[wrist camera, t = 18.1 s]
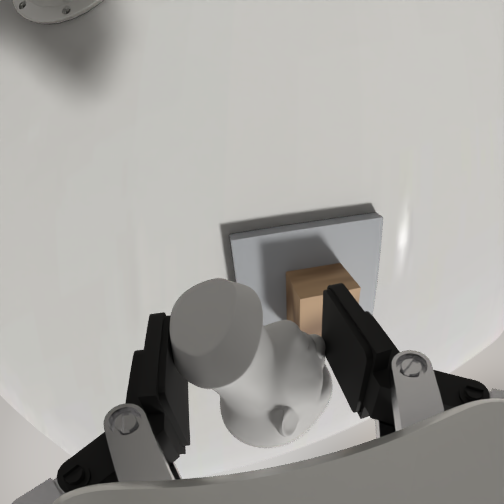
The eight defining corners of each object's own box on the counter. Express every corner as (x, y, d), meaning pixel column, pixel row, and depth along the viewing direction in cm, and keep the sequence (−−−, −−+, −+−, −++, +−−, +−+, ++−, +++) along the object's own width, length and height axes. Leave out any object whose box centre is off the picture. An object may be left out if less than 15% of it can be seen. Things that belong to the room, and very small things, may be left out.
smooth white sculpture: (311, 363, 16) (228, 418, 14) (259, 229, 12) (137, 301, 11) (366, 413, 12) (269, 482, 11) (334, 268, 8) (164, 379, 7)
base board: (229, 234, 31) (230, 240, 30) (376, 212, 33) (383, 217, 32) (246, 352, 39) (248, 361, 37) (364, 326, 40) (369, 333, 39)
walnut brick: (285, 271, 33) (300, 299, 28) (340, 262, 33) (360, 287, 29) (286, 324, 36) (299, 354, 31) (336, 315, 37) (352, 342, 32)
